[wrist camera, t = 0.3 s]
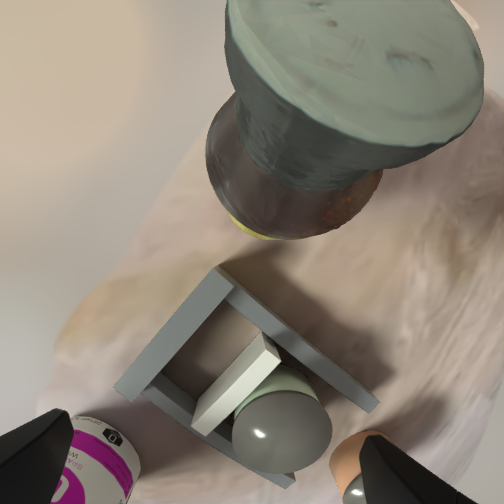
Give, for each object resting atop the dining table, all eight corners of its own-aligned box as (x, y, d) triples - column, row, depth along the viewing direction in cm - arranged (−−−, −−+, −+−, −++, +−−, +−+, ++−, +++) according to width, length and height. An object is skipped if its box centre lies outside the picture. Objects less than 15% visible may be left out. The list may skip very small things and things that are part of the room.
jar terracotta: (357, 488, 23) (375, 525, 18) (313, 465, 23) (328, 507, 17) (403, 445, 24) (431, 477, 18) (364, 418, 23) (391, 453, 18)
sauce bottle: (248, 142, 23) (269, -119, 3) (324, 179, 23) (526, 11, 3) (208, 221, 23) (52, 83, 3) (287, 259, 23) (501, 301, 3)
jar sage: (276, 443, 23) (284, 486, 17) (217, 403, 23) (211, 442, 17) (329, 392, 23) (351, 427, 17) (270, 347, 23) (280, 376, 17)
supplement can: (60, 400, 22) (-43, 487, 7) (145, 430, 23) (79, 560, 8) (64, 464, 22) (-7, 554, 7) (141, 492, 23) (96, 607, 8)
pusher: (210, 407, 23) (205, 436, 18) (198, 398, 23) (190, 426, 18) (273, 341, 23) (280, 361, 18) (261, 331, 23) (265, 349, 18)
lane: (281, 471, 23) (288, 503, 19) (132, 365, 23) (112, 387, 18) (368, 389, 23) (389, 412, 19) (218, 264, 23) (212, 268, 18)
